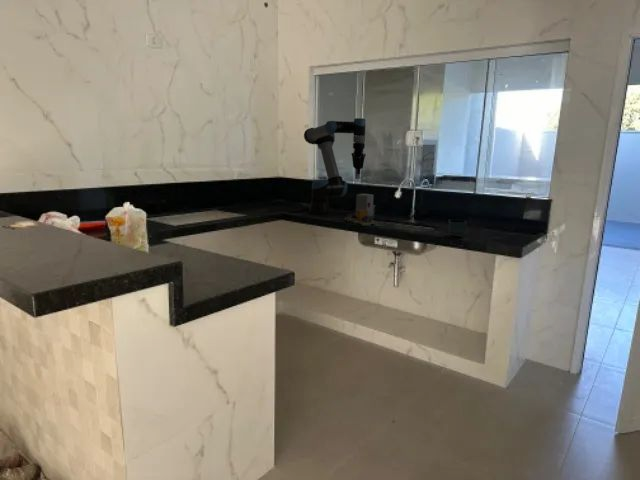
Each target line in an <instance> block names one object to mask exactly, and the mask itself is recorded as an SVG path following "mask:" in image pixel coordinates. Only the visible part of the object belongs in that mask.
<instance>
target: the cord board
mask: <svg viewBox="0 0 640 480" xmlns="http://www.w3.org/2000/svg"><path fill="white" fill-rule="evenodd" d="M346 220H347V221H346ZM344 221H346V222H349V221H351V222H350V223H352V222H354V223H353V224H356V223H358V224H357V225H359V224H361V225H360V226H362V225H363V226H362V227H364V225H366V226H372V225H371V224H375V225H379V221H377V220H373V216H369V215H368V216H364V218H362V220H358V219H357V217H356V213H349V214H346V216H345V218H344Z"/></svg>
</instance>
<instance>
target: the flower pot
mask: <svg viewBox="0 0 640 480" xmlns="http://www.w3.org/2000/svg"><path fill="white" fill-rule="evenodd" d="M447 220H448V231H449V233H451V234H454V235H463V236H464V235H465V232H466V229H467V225H468V222H467V221H466V220H464V219H447ZM451 234H450V235H451Z"/></svg>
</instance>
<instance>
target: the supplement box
mask: <svg viewBox="0 0 640 480" xmlns="http://www.w3.org/2000/svg"><path fill="white" fill-rule="evenodd" d="M355 199H356V200H355V213H356V212H357V210H363V209H364V210H368V215H369V216H372V217H373V213H374V212H373V211H374V194H373V193H372V194H371V193H358V194H356V198H355Z"/></svg>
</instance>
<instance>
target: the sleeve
mask: <svg viewBox="0 0 640 480" xmlns="http://www.w3.org/2000/svg"><path fill="white" fill-rule="evenodd" d="M355 214H356V217H357V219H358V220H362V218H364V216H368V210H364V209H363V210H357V212H356V211H355Z"/></svg>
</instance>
